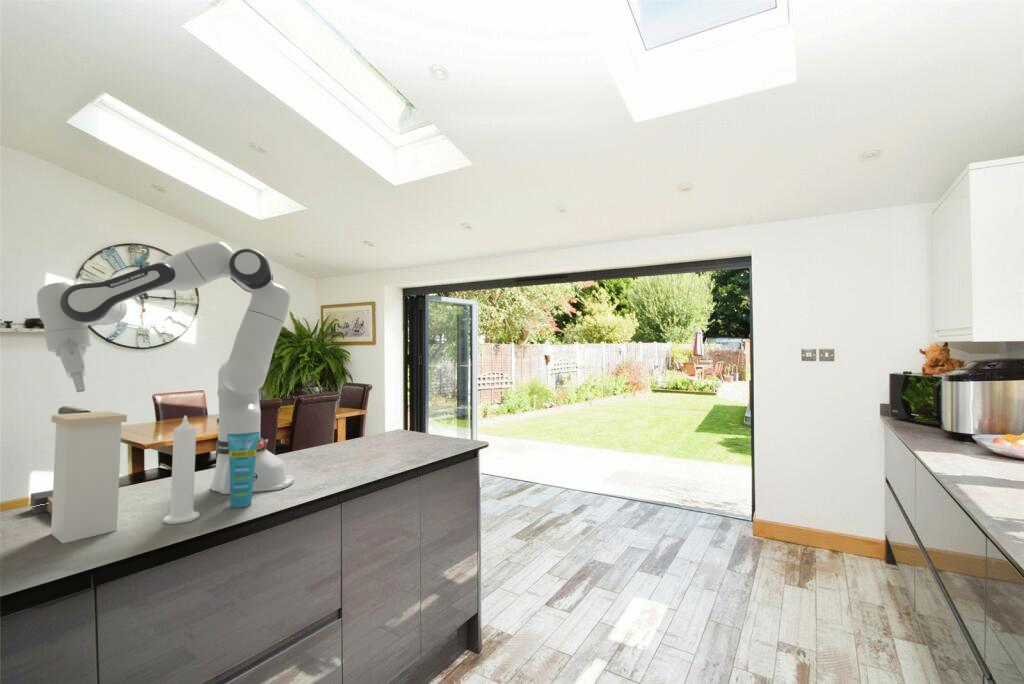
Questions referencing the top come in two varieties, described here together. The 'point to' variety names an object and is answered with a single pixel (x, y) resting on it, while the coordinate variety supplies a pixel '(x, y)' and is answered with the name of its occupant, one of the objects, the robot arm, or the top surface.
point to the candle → (183, 475)
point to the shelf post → (86, 474)
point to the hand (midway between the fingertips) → (80, 390)
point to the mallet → (42, 502)
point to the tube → (242, 467)
